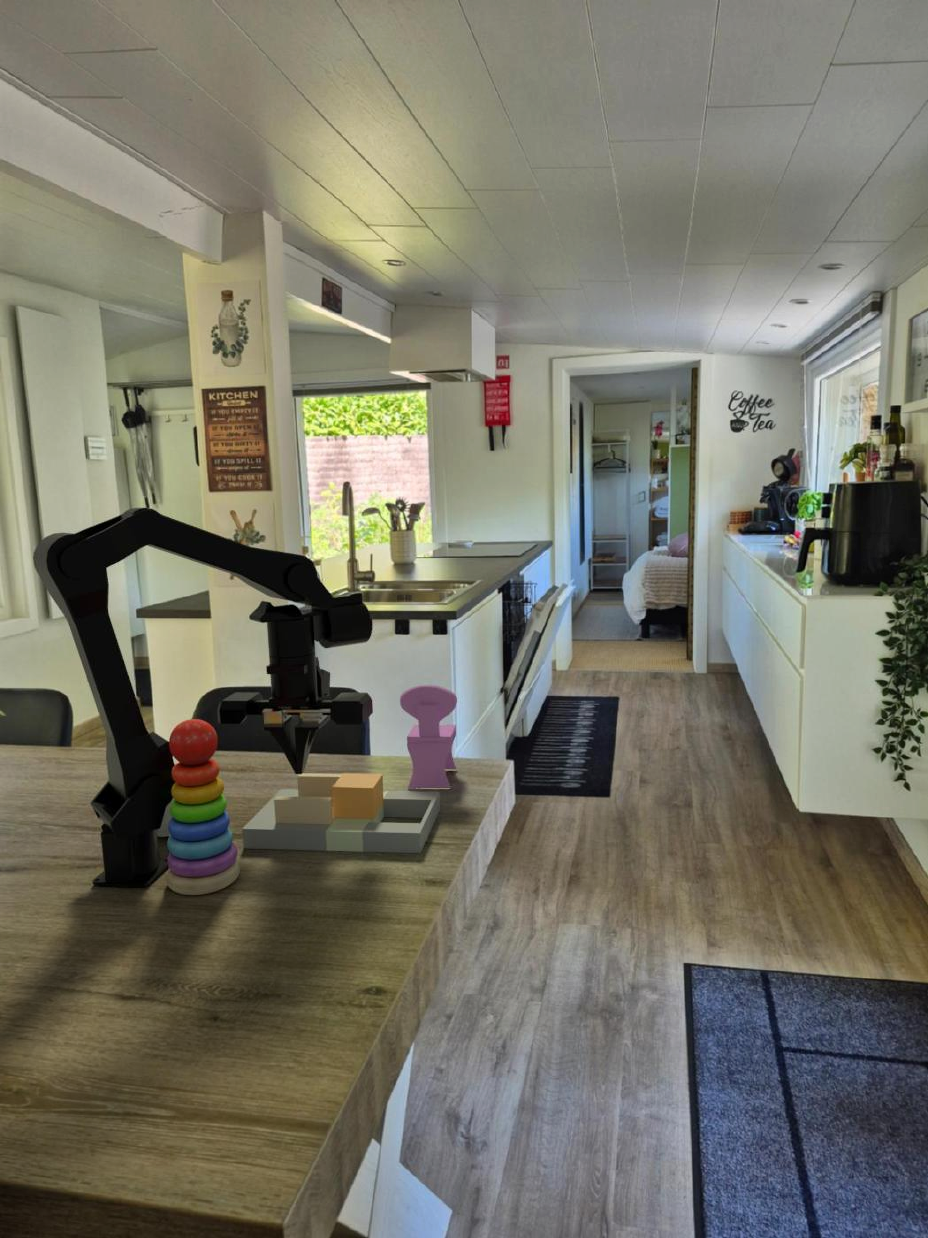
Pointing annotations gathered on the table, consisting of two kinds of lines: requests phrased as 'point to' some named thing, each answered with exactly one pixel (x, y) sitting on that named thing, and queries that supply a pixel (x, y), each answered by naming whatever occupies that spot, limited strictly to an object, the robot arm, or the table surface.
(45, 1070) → the table surface
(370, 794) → the block
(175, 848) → the stacking toy
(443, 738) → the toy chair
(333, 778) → the tunnel board
